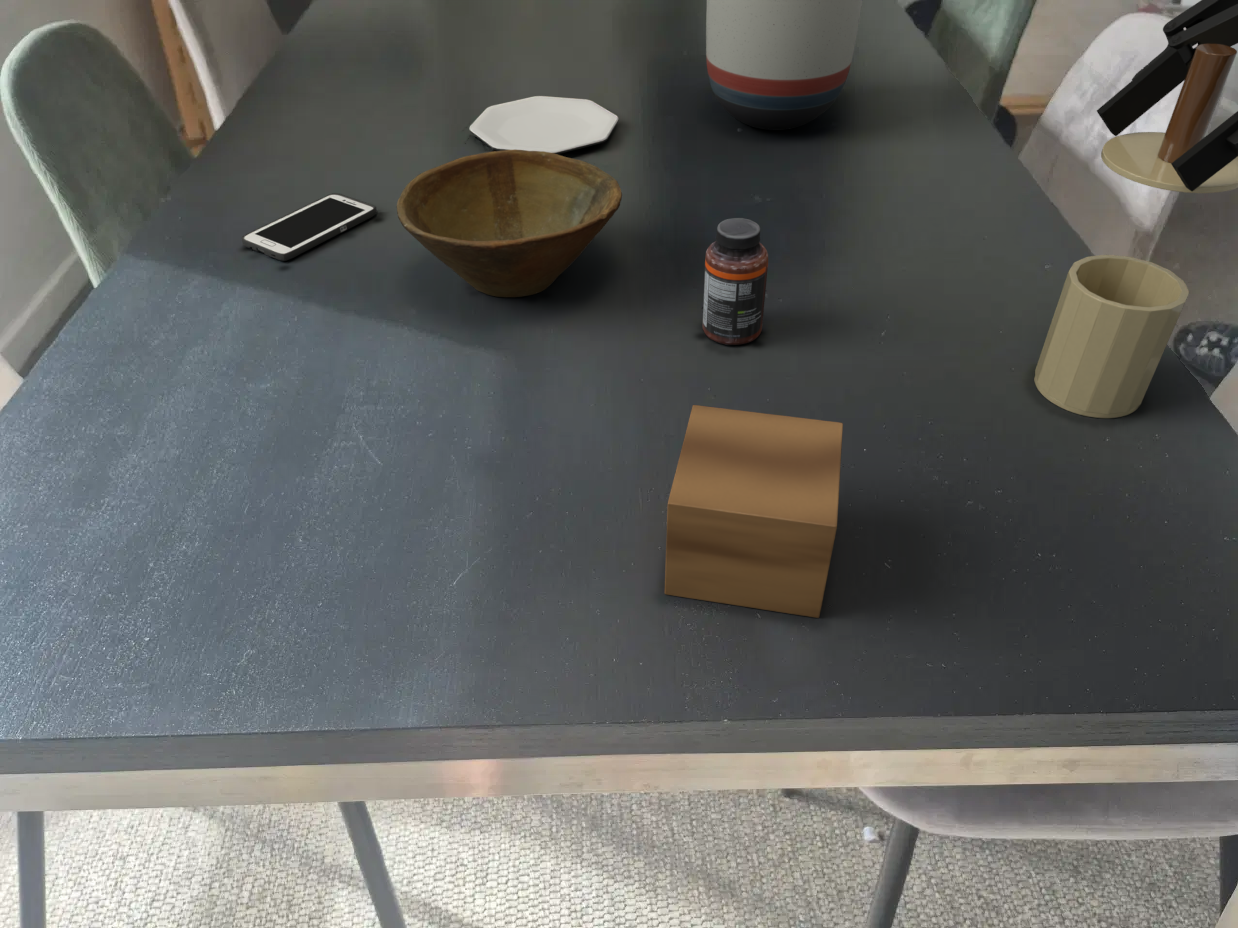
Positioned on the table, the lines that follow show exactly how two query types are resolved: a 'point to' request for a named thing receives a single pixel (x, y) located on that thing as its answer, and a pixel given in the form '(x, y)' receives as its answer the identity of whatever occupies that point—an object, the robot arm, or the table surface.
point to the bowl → (509, 216)
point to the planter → (779, 57)
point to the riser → (754, 510)
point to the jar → (1108, 334)
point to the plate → (544, 124)
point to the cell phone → (308, 226)
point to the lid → (1179, 130)
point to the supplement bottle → (735, 283)
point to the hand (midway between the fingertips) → (1141, 149)
